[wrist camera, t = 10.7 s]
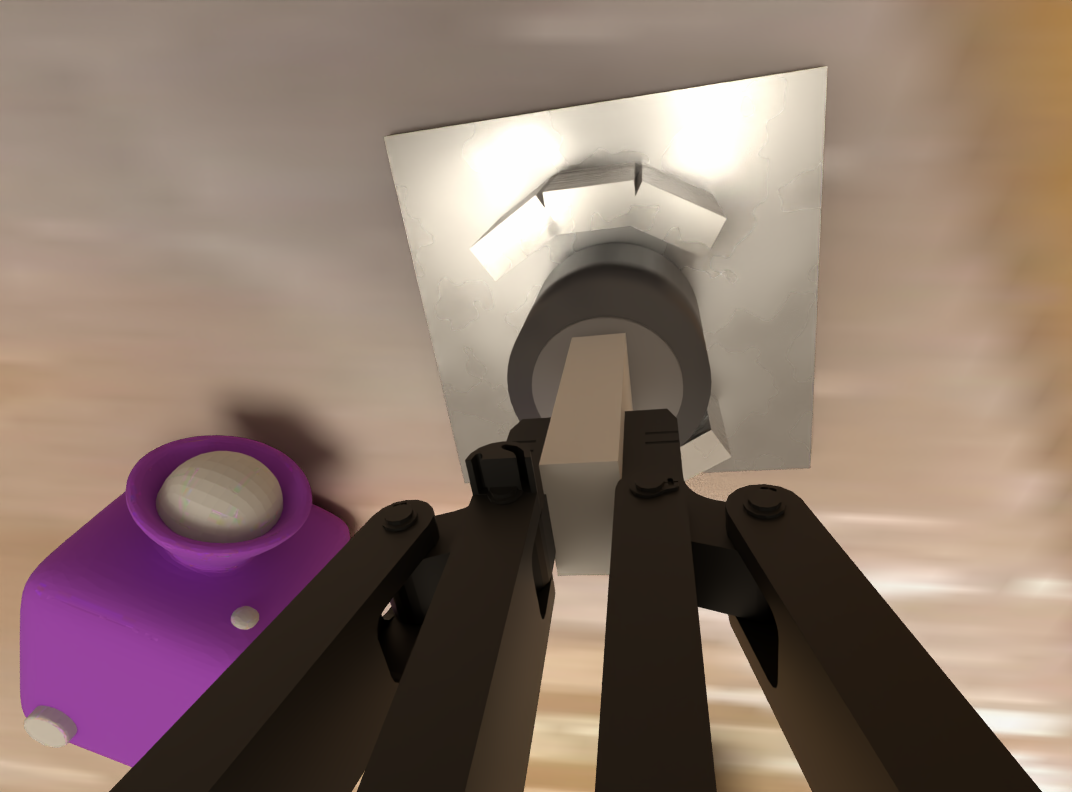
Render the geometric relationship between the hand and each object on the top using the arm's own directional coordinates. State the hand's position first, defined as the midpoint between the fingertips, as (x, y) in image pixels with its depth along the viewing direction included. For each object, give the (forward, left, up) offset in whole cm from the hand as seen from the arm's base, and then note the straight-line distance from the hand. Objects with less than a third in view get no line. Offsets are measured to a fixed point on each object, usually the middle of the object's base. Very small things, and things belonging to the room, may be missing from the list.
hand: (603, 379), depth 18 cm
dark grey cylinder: (0, 0, -6) cm, 6 cm away
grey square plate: (0, 0, -6) cm, 6 cm away
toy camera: (+9, -18, -7) cm, 21 cm away
